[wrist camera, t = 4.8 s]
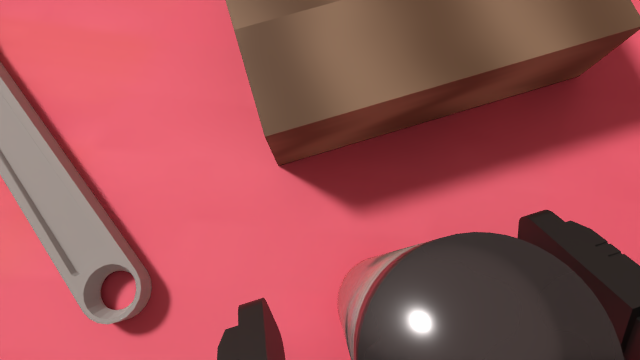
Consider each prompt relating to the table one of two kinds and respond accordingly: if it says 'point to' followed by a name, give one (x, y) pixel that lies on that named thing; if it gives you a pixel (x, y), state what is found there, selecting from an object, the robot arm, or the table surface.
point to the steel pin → (472, 304)
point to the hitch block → (407, 60)
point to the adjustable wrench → (64, 209)
